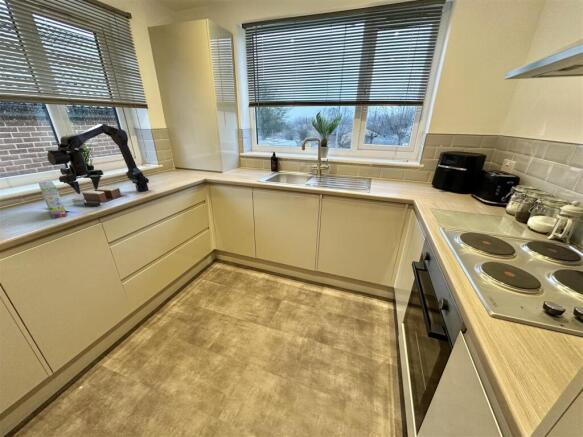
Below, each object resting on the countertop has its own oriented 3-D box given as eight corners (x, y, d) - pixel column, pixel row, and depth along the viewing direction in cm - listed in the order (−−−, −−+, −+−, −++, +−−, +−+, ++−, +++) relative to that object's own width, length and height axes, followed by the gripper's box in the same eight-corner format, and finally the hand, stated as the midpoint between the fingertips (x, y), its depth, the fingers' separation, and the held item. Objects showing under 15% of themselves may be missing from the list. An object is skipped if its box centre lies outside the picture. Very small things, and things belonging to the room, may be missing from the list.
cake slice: (106, 199, 140) (103, 191, 138) (100, 201, 137) (98, 193, 135) (91, 198, 143) (88, 190, 141) (85, 200, 140) (82, 192, 138)
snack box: (68, 215, 119) (56, 186, 114) (53, 219, 115) (40, 188, 110) (62, 206, 133) (51, 180, 127) (48, 209, 129) (36, 182, 123)
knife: (101, 207, 131) (99, 200, 130) (97, 208, 129) (94, 201, 128) (76, 205, 135) (74, 198, 133) (72, 206, 132) (69, 199, 131)
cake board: (128, 196, 149) (127, 194, 149) (105, 204, 135) (104, 202, 135) (102, 195, 153) (101, 193, 153) (76, 202, 139) (76, 201, 139)
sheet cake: (121, 195, 149) (118, 187, 147) (112, 197, 144) (110, 189, 142) (105, 194, 151) (103, 186, 149) (96, 197, 146) (93, 189, 144)
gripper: (83, 159, 132) (92, 186, 137) (44, 164, 115) (57, 195, 121) (99, 159, 129) (108, 187, 135) (62, 165, 112) (74, 196, 118)
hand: (88, 191), depth 127 cm, fingers open, 9 cm apart
